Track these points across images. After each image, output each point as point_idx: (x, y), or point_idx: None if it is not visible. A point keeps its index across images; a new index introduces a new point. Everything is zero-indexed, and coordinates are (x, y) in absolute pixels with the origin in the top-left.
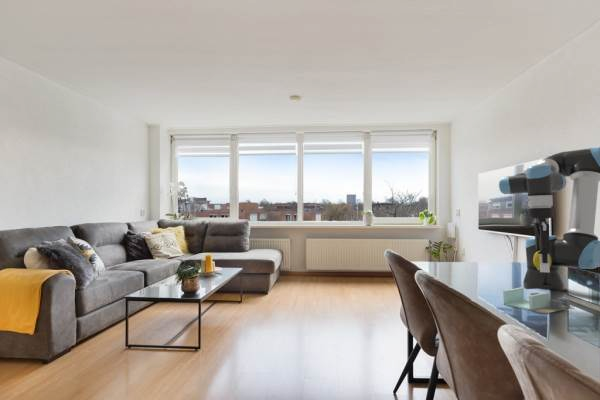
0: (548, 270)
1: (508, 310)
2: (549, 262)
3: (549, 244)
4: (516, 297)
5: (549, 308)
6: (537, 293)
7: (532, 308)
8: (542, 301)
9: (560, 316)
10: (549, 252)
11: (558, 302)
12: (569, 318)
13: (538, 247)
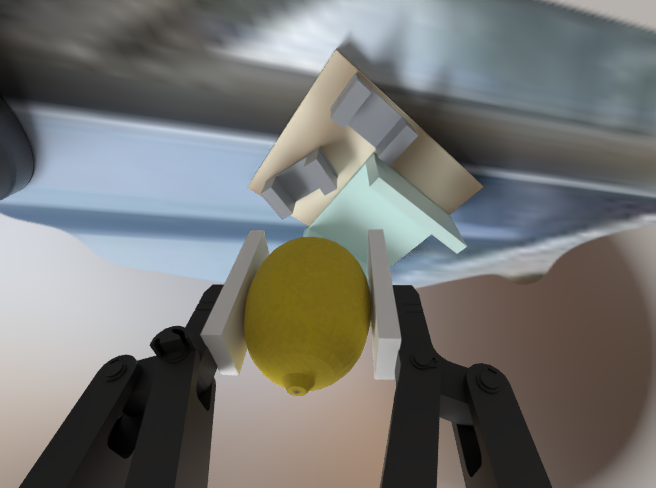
0: (382, 242)
1: (405, 260)
2: (355, 268)
3: (549, 482)
4: None
5: (400, 159)
6: (276, 196)
7: (451, 219)
8: (415, 195)
9: (456, 127)
10: (491, 368)
11: (414, 137)
12: (483, 98)
13: (208, 412)
